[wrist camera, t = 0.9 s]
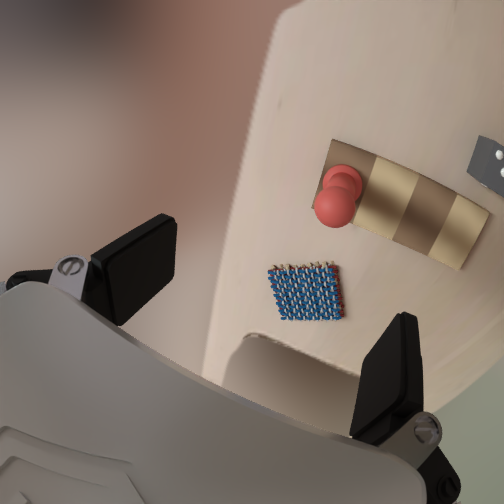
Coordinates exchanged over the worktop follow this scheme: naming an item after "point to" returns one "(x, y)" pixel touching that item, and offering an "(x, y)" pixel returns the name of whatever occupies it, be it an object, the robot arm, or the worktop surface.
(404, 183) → the board
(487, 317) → the worktop surface
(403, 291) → the worktop surface
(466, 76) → the worktop surface
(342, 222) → the pawn
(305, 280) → the woven mat
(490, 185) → the die
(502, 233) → the worktop surface
